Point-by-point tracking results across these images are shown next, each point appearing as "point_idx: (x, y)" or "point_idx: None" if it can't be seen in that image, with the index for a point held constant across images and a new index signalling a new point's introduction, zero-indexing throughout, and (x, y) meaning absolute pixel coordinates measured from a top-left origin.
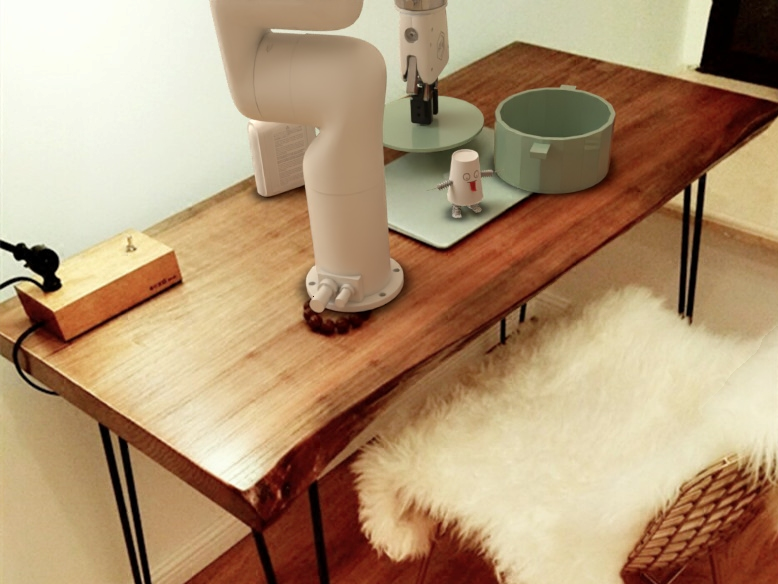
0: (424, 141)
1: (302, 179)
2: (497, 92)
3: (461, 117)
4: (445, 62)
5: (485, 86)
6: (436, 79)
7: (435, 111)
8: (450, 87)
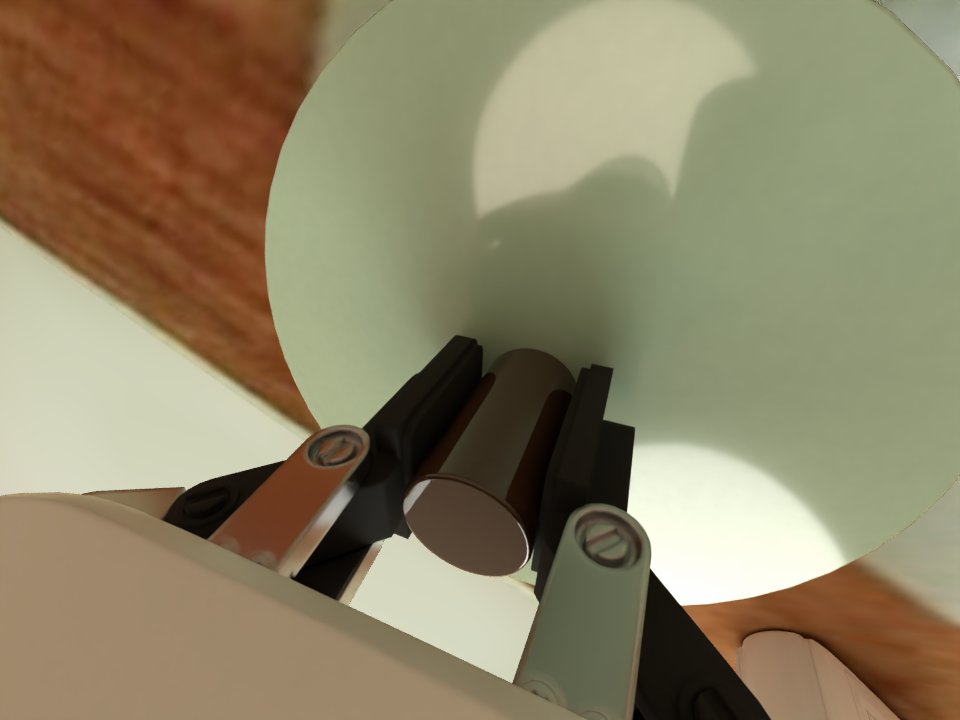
0: (849, 385)
1: (876, 710)
2: (92, 116)
3: (453, 178)
4: (75, 584)
5: (92, 174)
6: (316, 481)
7: (474, 356)
8: (158, 286)
